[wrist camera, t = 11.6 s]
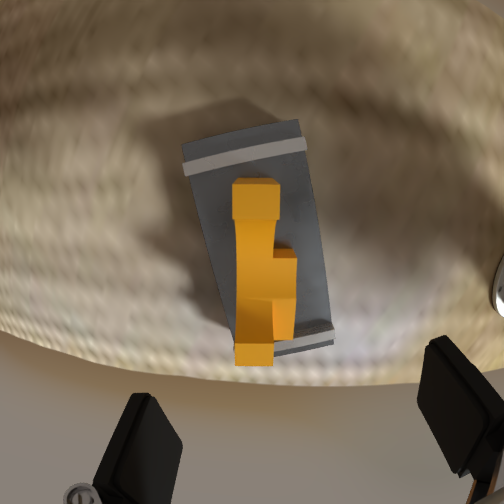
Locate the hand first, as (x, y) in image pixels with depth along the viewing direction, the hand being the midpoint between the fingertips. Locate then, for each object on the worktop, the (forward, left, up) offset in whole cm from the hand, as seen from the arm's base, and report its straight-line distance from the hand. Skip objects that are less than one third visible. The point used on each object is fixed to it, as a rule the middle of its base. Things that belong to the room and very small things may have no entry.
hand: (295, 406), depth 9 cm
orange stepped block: (0, 0, -16) cm, 16 cm away
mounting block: (0, 0, -21) cm, 21 cm away
